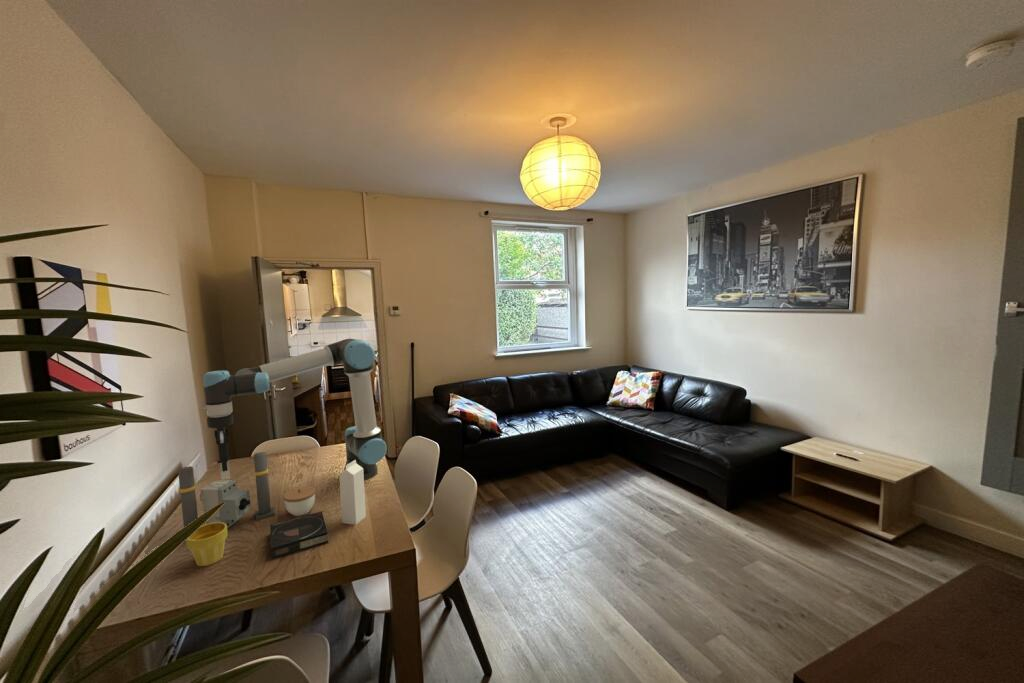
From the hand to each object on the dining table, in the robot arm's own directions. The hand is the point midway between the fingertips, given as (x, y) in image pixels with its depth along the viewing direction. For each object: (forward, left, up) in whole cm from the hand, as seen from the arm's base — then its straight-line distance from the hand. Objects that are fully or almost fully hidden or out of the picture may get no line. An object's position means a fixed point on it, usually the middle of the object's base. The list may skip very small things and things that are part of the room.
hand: (225, 478), depth 145 cm
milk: (-43, -11, -18) cm, 48 cm away
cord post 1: (+8, +7, -18) cm, 21 cm away
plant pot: (-11, +18, -18) cm, 28 cm away
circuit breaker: (+1, -1, -18) cm, 18 cm away
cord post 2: (-6, -9, -18) cm, 21 cm away
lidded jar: (-19, -13, -18) cm, 29 cm away
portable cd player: (-31, +3, -19) cm, 36 cm away
